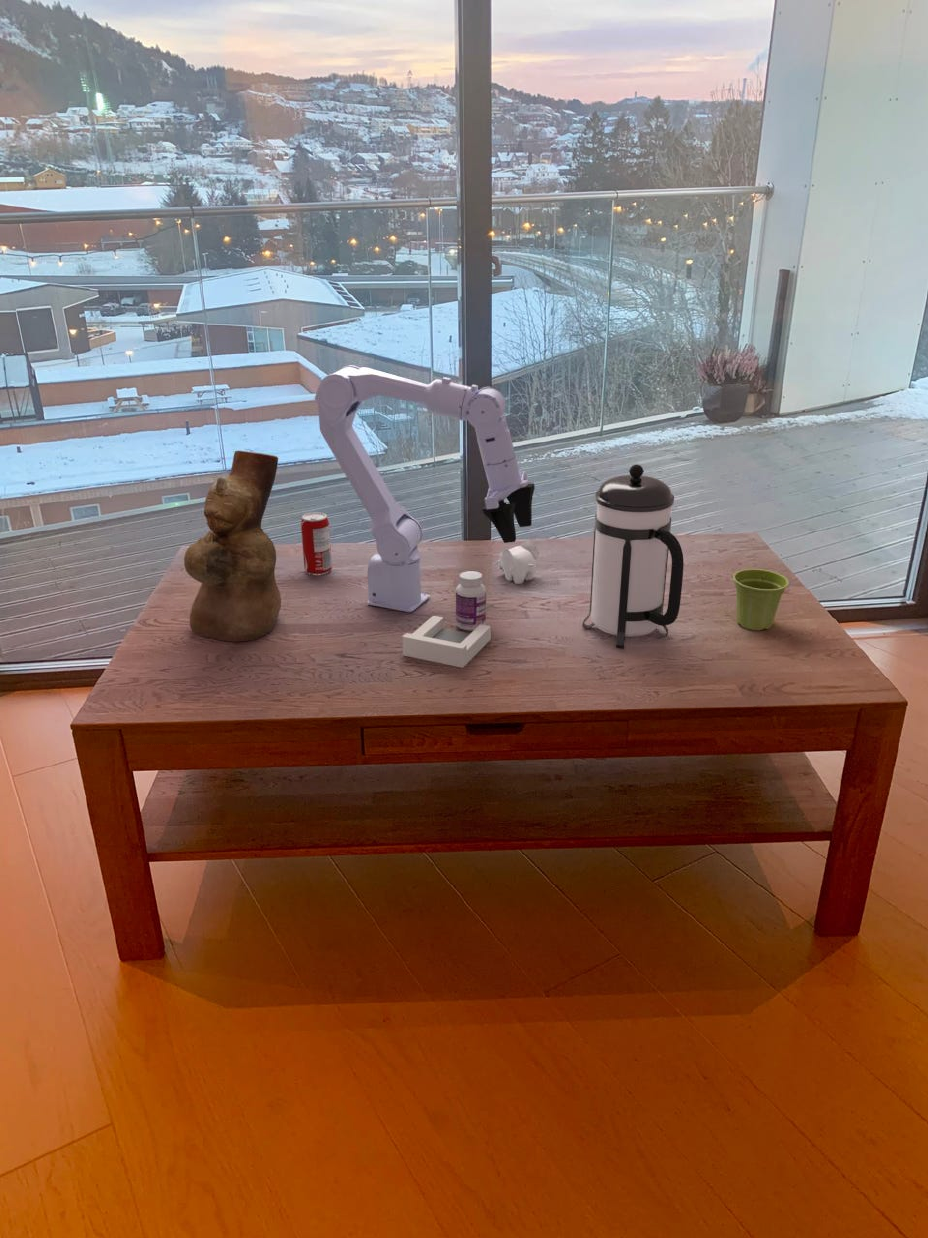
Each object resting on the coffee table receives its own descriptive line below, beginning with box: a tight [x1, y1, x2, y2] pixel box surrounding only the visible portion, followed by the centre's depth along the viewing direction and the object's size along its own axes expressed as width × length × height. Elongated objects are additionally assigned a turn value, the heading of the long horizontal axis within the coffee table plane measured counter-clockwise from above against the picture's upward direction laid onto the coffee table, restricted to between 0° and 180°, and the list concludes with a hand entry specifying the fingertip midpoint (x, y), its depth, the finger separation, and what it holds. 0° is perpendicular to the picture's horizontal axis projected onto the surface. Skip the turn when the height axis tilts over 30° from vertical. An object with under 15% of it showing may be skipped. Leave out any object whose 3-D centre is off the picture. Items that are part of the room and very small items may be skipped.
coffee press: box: [582, 464, 685, 650], centre depth 159 cm, size 17×16×30 cm
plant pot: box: [732, 568, 790, 631], centre depth 167 cm, size 9×9×9 cm
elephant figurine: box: [492, 540, 540, 585], centre depth 187 cm, size 8×10×7 cm
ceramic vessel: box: [183, 450, 282, 643], centre depth 165 cm, size 16×22×30 cm
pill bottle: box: [455, 570, 487, 632], centre depth 167 cm, size 5×5×10 cm
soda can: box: [300, 511, 333, 576], centre depth 190 cm, size 6×6×12 cm
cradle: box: [401, 615, 492, 669], centre depth 160 cm, size 11×12×4 cm
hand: (518, 533), depth 167 cm, fingers open, 7 cm apart
